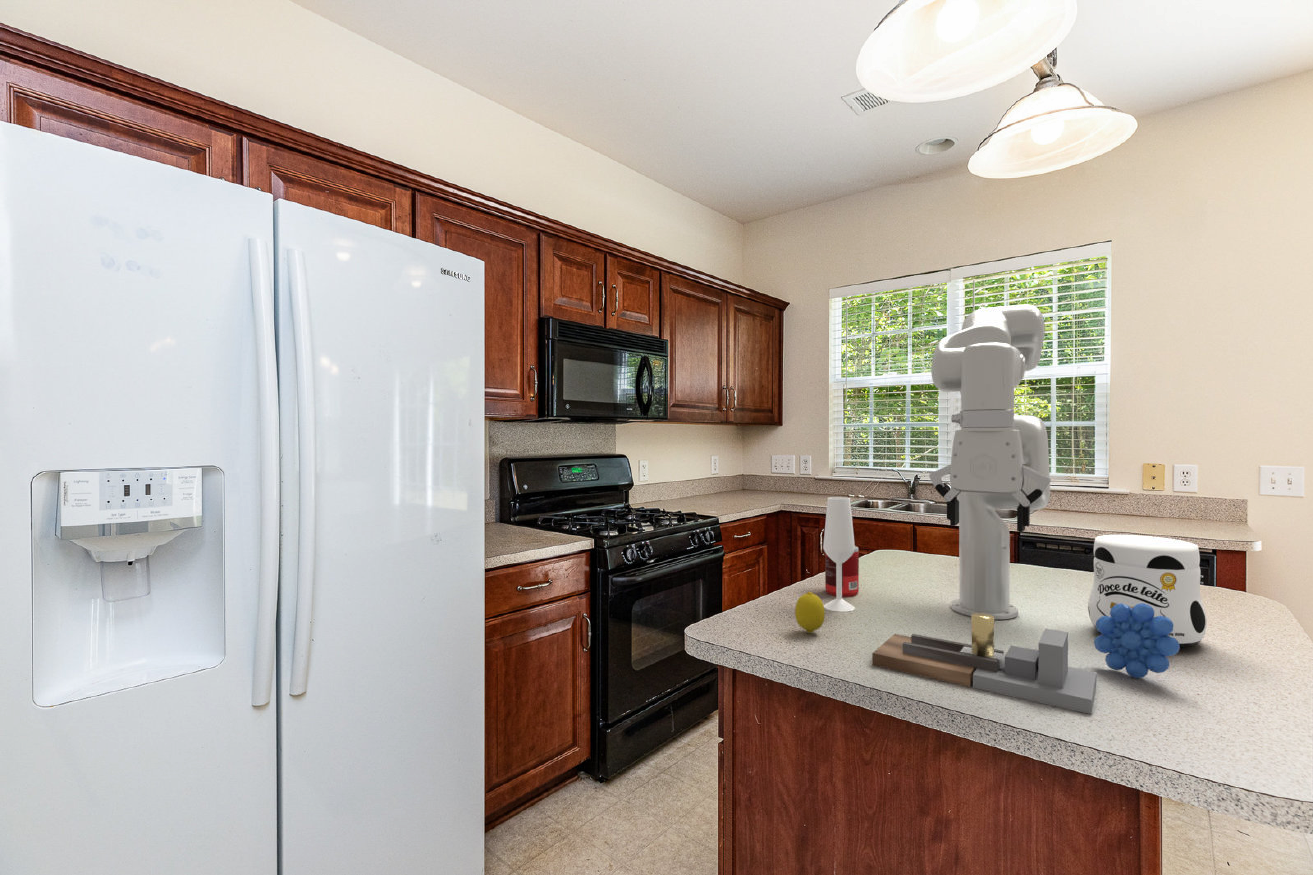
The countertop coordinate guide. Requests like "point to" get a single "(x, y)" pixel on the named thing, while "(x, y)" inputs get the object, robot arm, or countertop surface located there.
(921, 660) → the wooden block with rails
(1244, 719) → the countertop surface
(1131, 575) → the doce de leite tub
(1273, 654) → the countertop surface
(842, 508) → the champagne flute
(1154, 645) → the blue flower
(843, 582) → the canned food
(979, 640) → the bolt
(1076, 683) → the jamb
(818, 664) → the countertop surface
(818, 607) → the lemon
